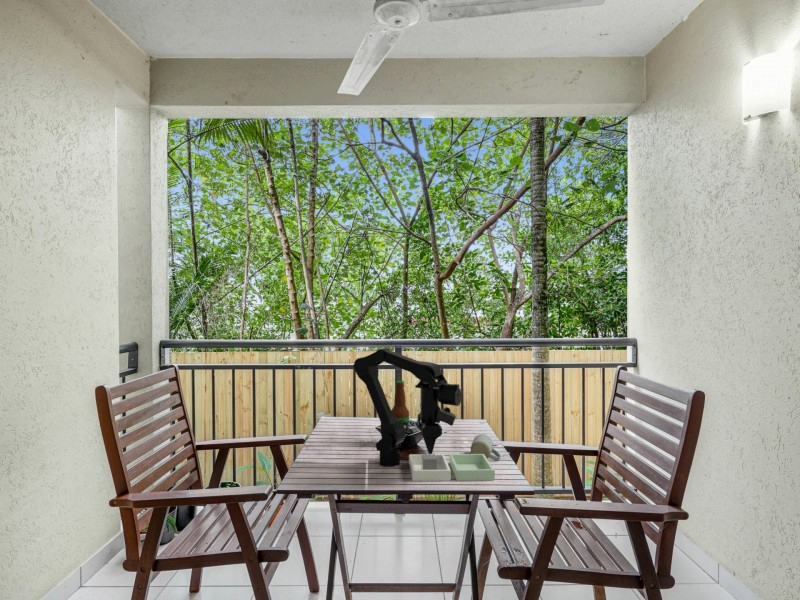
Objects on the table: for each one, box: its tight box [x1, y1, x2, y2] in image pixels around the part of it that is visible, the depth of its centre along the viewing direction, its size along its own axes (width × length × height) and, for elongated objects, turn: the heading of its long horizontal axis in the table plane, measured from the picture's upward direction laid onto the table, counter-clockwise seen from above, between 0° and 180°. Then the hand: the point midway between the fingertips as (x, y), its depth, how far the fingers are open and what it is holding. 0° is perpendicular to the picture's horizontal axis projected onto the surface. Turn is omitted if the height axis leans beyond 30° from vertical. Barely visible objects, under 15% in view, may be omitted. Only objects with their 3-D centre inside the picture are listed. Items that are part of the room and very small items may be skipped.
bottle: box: [391, 380, 410, 431], centre depth 201 cm, size 7×7×25 cm
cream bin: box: [408, 453, 452, 482], centre depth 170 cm, size 12×16×4 cm
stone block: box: [421, 453, 437, 470], centre depth 170 cm, size 4×4×5 cm
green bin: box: [448, 453, 496, 482], centre depth 171 cm, size 12×16×4 cm
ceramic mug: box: [470, 433, 501, 462], centre depth 187 cm, size 11×8×8 cm
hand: (428, 449), depth 170 cm, fingers open, 9 cm apart
